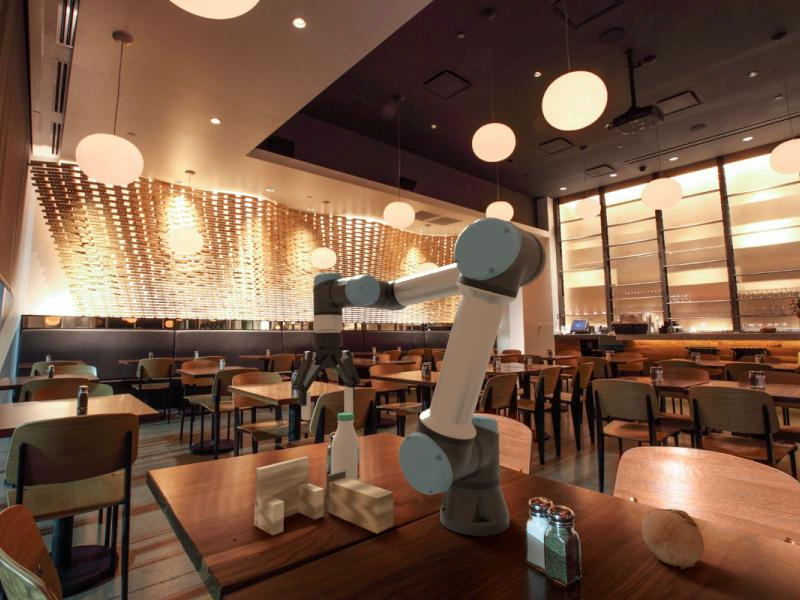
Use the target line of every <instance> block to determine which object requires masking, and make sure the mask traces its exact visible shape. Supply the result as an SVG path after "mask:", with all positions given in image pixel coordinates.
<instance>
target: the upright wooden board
mask: <svg viewBox="0 0 800 600" xmlns="http://www.w3.org/2000/svg"><path fill="white" fill-rule="evenodd" d="M309 459H310V458H309V456H301V457H296V458H292V459H289V460H284V461H281V462H276V463H273V464H269V465H265V466H260V467H256V468H255V487H254V489H255V490H254V491H255V492H254V517H253V518H254V520H253V521H254V522H253V525H254V526H255V527H257V528H258V529H260V530H262V531H264V532H266V533H267V534H269V535H270V536H275V535H278V534H280V533H283V532H284V521H285V519H284V518H287V517H290V516H293V515H296V514H298V513H300V514H301V515H303V516H306V517H308V518H310V519H312V520H317V519H320V518H322V517H324V509H325V508H324V503H325V501H324V497H325V496H324V495H325V494H324V492H325V491H324V489H325V488H323V487H320V486H318V485H315V484H311V483H309V474H310V473H309V472H310V471H309V469H310V468H309V466H310V465H309V463H310V461H309Z"/></svg>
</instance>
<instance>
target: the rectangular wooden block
mask: <svg viewBox="0 0 800 600" xmlns="http://www.w3.org/2000/svg"><path fill="white" fill-rule="evenodd" d="M326 478H327V479H326V512H327V514H331V515H333V516H335V517H337V518H340V519H342V520H344V521H347V522H349V523H352V524H354V525H356V526H358V527H360V528H363V529H366V530H368V531H371V532H372V533H375V534H379V533H381V532H383V531H387V530H388V529H390V528H392V527H394V524H395V523H394V491H392V490H388V489H385V488H382V487H378V486H375V485H374V484H373V485H372V484H369V483H366V482H363V481H360V480H359V481H357V480H354V479H351V478H348V477H346V471H344V470H343V471H339V472H336V473H332V474H331V473H329V474H327V475H326Z"/></svg>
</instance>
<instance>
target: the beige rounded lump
mask: <svg viewBox="0 0 800 600" xmlns="http://www.w3.org/2000/svg"><path fill="white" fill-rule="evenodd" d="M640 530H641V531H640V532H641V537H642V538H643V540H644V543H645V544H646V545H647V547H648V549H649V551H650V553H651V554H652V555H653V556H654V557H655V558H656V559H657V560H658V561H659V560H661V561H660V562H662V563H663V562H664V564H666V563H667V564H666V565H669V566H672V567H673V566H674V567H673V568H675V567H677V566H679V567H678V568H680V569H682V570H683V569H684V570H685V569H686V568H690V567H694V566H695V564H696V563H697V562H698V561H700V559H701V558H702V556H703V554H704V547H705V546H704V545H705V544H704V538H703V536H702V532H700V531H701V530H699V525H698V524H697V523H696V522H695V520H694V519H693V517H692V516H690V514H689V513H688V512H686V511H685V510H682V509H675V508H667V509H666V508H665V509H664V508H663V509H662V508H660V509H659V508H658V509H657V508H655V509H652V510H650V511H648V512H647V514H646V515H645V516H644V517H643V519H642V521H641V525H640Z"/></svg>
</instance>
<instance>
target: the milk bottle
mask: <svg viewBox="0 0 800 600" xmlns="http://www.w3.org/2000/svg"><path fill="white" fill-rule="evenodd" d="M354 422H355V413H354V412H353V413H348V412H339V413H337V429H336V432H335V434H334V436H333V439H332V442H331V458H330V459H331V460H330V461H331V463H330V466H331V468H330V474H332V473H336V472H339V471H343V470H344V471H346V477H348V478H351V479H354V480H357V481H360V442H359V437H358V434H357V433H356V429H355V427H354Z"/></svg>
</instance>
